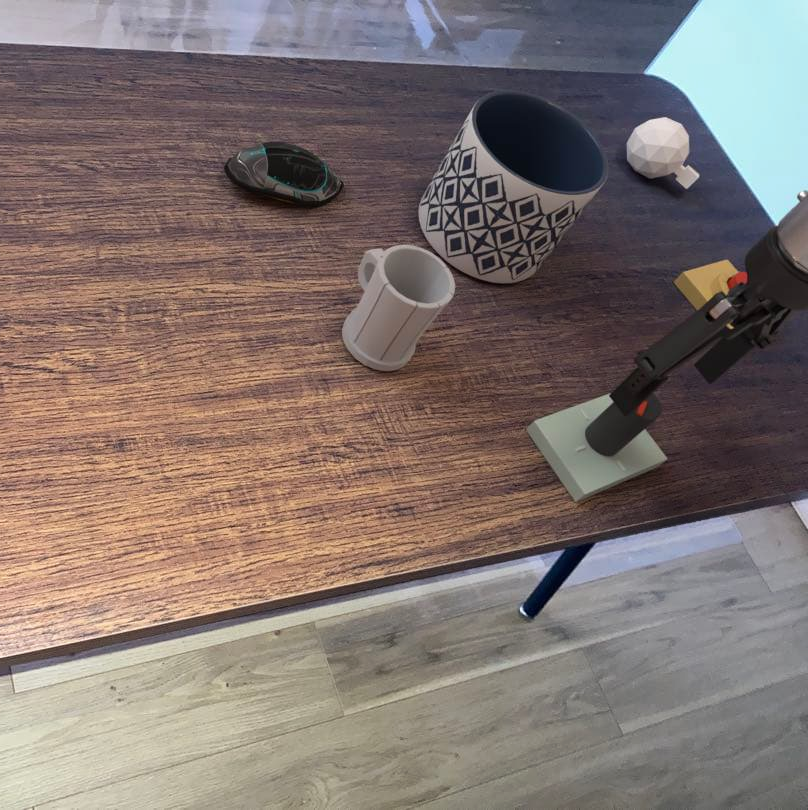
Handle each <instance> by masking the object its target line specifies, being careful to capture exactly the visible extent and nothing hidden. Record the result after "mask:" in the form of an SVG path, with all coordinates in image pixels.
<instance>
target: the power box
mask: <svg viewBox="0 0 808 810" xmlns="http://www.w3.org/2000/svg"><path fill="white" fill-rule="evenodd" d="M738 272H739V271H738V270H737V268H735V266H734V265H733V264H732V263H731V261H729V259H724V260H723V259H722V260H719V261H717V262H713V263H709V264H706V265H703V266H699V267H696V268H691V269H688V270H686V271H682V273H680V275H678V277H676V279H675V280H674V281H673V284H674V285H675V286H676V287H677V289H678V290H679V291H680V292H681V293H682V294H683V296H684V297H685V298H686V299H687V301H688V302H689V303H690V304H691V306H692V307H693V308H694V309H695V310H696V311H698V310H699V309H700V308H701V307H702V306H703V305H704V304H705V303H707V302H708V301H709V300H710V299H711V298H712V297H713V295H715V294H716V293H719V292H721V291H722V292H723V293H724V294H725V295H727V293H728V291H729V288H728V285H727V284H728V281H729V280H730V279H731V278H732V277H734V276H735V275H736V274H737V273H738ZM726 326H727V327H728V328H729V329H732V328H734V327H732V326H731V325H730V324H727V325H726Z"/></svg>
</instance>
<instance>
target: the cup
mask: <svg viewBox="0 0 808 810" xmlns="http://www.w3.org/2000/svg"><path fill="white" fill-rule="evenodd" d="M357 277H358V284H359V285H360V286H361V288H362V290H363V295H362V296H361V299H360V300H359V303H358V304H357V306H356V308H354V309H352V311H351V312H350V313H349V314H348V315H347V316H346V318H345V320H344V321H343V326H342V328H341V335H342V341H343V343H344V346H345V347H346V349H347V351H348V352H349V353H350V355H352V357H353V358H354V359H355V360H356V361H358V362H359V363H361V364H362V365H364V366H365V367H368V368H370V369H373V370H376V371H381V372H382V371H383V372H391V371H396V370H397V371H398V370H399V369H401V368H403V367H405V366H406V365H407V364H408V362H409V361H410V360H411V358H412V357H413V355H414V354H415V352H416V348H417V343H418V342H419V340H420V339H421V337H422V336H423V334H424V333H425V332H426V330H427V329H428V328H429V327H430V326H431V325H432V323H433V322H434V321H435V320H436V318H437V317H438V316H439V315H440V314H441V312H443V310H444V309H445V308H446V307H447V305H448V304H449V303H450V302H451V301H452V299H453V297H454V296H455V291H456V283H455V279H454V275H453V273H452V271H451V270H450V269H449V267H448V265H446V263H445V262H444V261H443V260H442V259H441V258H440V257H438V256H437V255H435V254H434V253H432V252H431V251H430V250H428V249H425V248H422V247H420V246H416V245H411V244H400V245H393V246H391V247H389V248H387V249H385V250H383V249H382V248H381V247H379V248H372V249H369V250H366V251H365V252H364V254H363V257H362V259H361V262H360V264H359V267H358V268H357Z"/></svg>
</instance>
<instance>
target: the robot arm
mask: <svg viewBox="0 0 808 810" xmlns="http://www.w3.org/2000/svg"><path fill="white" fill-rule="evenodd" d="M796 199H797V200H798V203H797V204H795V206H793V207H792V208H791V210H789V211H788V212H787V213H786V214H785V215H784V216H783V217H782V218H781V219H780V220H779V222H778V224H777V225H775V226H772V227H771V228H770V229H769V230H768V231H767V232H766V233H765V234H764V235H763V236H762V237H761V238H760V239H759V240H758V242H756V243H755V244H754V245H753V246H752V247H751V248H750V249H749V250H748V252H747V253H746V255H745V258H744V269H745V272H746V273H747V282H746V283H745V284H744V282H741V283H739V284H737V285H736V286H734V287H733V288H731V289H730V290H729V291H728V293H727V295H725V294H724V293H723V292H722V291H721V292H719V293H716V294H715V295H713V297H712V298H711V299H710V300H709V301H708V302H707V303H705V304H704V305H703V306H702V307H701V308H700V309H699V310H698V311H697V310H696V311H695V312H693V313H692V314H691V315H689V316H688V317H687V318H686V319H684V320H683V321H681V322H680V323H679V324H678V325H677V326H675V327H674V328H673V329H671V330H670V331H668V332H667V333H666V334H665V335H664V336H662V337H661V338H660V339H658V340H657V341H656V342H654V343H653V344H651V346H649V347H648V348H647V349H645V350H643V349H641V350H639V351H638V352H637V353H636V357H634V359H633V362H634V363H635V365H636V366H637V367H636V368H635V369H634V370H633V371H632V372H631V373H630V374H628V375H627V377H625V379H624V380H622V382H621V383H620V384H619V385H617V387H616V388H615V389H614V390H613V391H611V392H610V393H611V394H610V393H609V394H610V395H609V397H610V398H611V399H612V401H613V402H614V403H615V405H616V406H617V407H618V409H619V410H620V411H621V412H622V414H623V415H624V416H628V415H630V414H631V413H632V412H633V411H634V410H635V409H636V408H638V407H639V406H640V405H641V404H642V403H643V402H644V401H645V400H646V399H647V398H648V397H649V396H650V395H651V394H654V393H655V392H656V391H657V390H658V389H660V387H661V386H662V385H663V384H664V383H666V382H667V381H669V379H670V378H669V375H670V374H672V373H673V372H675V371H677V370H678V369H679V368H681V367H683V366H684V365H685V364H687V363H688V362H690V361H691V360H692V359H694V358H696V357H697V356H699V355H700V354H702V353H703V352H705V351H706V350H708V351H706V352H705V353H704V354H703V355H702V356H701V357H700V358H699V359H698V360H697V361H696V362H695V363H694V364H693V367H694V368H695V369H696V371H698V373H700V375H701V376H702V377H703V379H704V380H705V381H706V382H707V383H708V385H711V384H714V383H715V382H717V381H718V380H719V379H720V378H721V377H722V376H723V375H724V374H725V373H726V372H728V371H729V370H730V369H731V368H732V367H733V366H734V365H736V364H737V363H738V362H740V360H741V359H743V358H744V357H745V356H746V355H747V354H749V352H750V351H752V350H753V349H754V348H755V345H754V343H755V344H756V346H757V347H758V348H759V349H760V350H765V349H766V348H768V347H769V346H770V345H772V341H771V340H770V339H769V337H768V336H770V337H774V336H778V335H779V334H781V333H780V332H781V331H782V330H783V329H784V327H785V326H786V325H787V324H788V323H789V322H790V320H791V319H792V317H793V316H794V315H795V314H796V313H797V312H806V311H808V190H805V189H804V190H802V191H800V192H799V193H798V194H797V195H796ZM727 324H730V325H731V326H732V327H734V328H732V329H729V328H728V327H727V326H726V325H727ZM709 348H710V349H709Z"/></svg>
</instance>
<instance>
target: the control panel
mask: <svg viewBox="0 0 808 810" xmlns="http://www.w3.org/2000/svg"><path fill="white" fill-rule="evenodd" d="M611 393H612V392H610V393H607V394H605V395H602V396H599V397H596V398H593V399H590V400H588V401H585V402H582V403H579V404H577V405H574V406H571V407H568V408H565V409H562V410H560V411H557V412H554V413H552V414H548V415H546V416H544V417H540V418H538V419H535V420H533V421H532V422H531V423H530V424H529V426H528V427H526V429H525V431H526V433H527V434H528V436H529V437H530V438H531V440H532V442H533V443H534V444H535V446H536V447H537V448H538V450H539V451H540V453H541V454H542V456H543V457H544V459H545V460H546V462H547V463H548V465H549V467H550V468H551V469H552V470H553V472H554V473H555V475H556V476H557V478H558V479H559V481H560V482H561V484H562V486H564V488H565V489H566V491H567V492H568V494H569V495H570V496H571V498H572V499H573V501H574V502H575V503H578V502H581V501H582V500H585V499H587V498H589V497H592V496H594V495H597V494H598V493H601V492H604V491H606V490H609V489H610V488H613V487H615V486H617V485H619V484H622V483H624V482H627V481H630V480H631V479H633V478H636V477H638V476H641V475H643V474H646V473H647V472H649V471H652V470H654V469H657V468H658V467H660V466H661V465H663V463H665V462H666V461H667V460H668V457H667V456H666V455H665V453H664V451H662V449H661V448H660V447H659V445H658V444H657V443H656V441H655V440H654V438H653V437H652V436H651V435H650V434H649V432H648V430H647V428H646V429H644V430H643V431H642V432H641V433H640V434H639V435H638V436H636V437H635V438H634V439H633V440H632V441H631V442H629V443H628V444H627V445H626V446H625V447H624V448H622V449H621V450H620V451H619V452H618V453H617V454H615V455H613V456H604V455H601V454H599V453H597V452H596V451H595V450H593V449H592V448H591V447H590V445H589V444H588V442H587V440H586V437H585V430H586V428H587V427H588V426H589V425H590V424H591V423H592V422H593V421H594V420H595V419H596V418H597V417H598V416H599V415H600V414H601V413H602V412H603V411H604V410H606V409H607V408H608V407H609V406H610V405H611V404H612V403H613V401H612V399H611V398H610V397H609V395H610V394H611Z"/></svg>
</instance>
